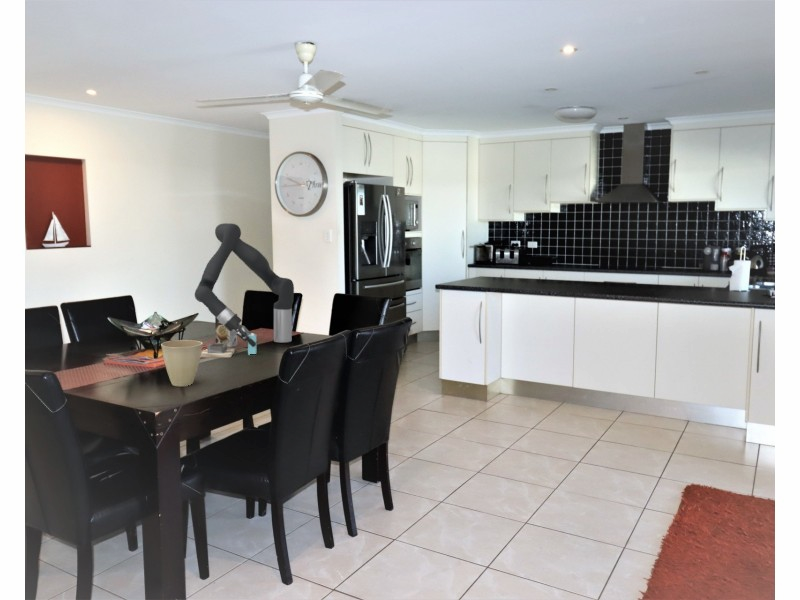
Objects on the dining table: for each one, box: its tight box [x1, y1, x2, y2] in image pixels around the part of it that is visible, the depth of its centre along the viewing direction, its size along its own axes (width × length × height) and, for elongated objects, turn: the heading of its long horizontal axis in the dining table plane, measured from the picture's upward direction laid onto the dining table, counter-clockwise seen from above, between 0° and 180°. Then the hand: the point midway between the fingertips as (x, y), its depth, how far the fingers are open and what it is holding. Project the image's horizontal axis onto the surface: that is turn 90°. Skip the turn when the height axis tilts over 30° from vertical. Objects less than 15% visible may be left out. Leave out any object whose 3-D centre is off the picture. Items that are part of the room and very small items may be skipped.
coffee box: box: [214, 313, 238, 348], centre depth 310 cm, size 9×6×16 cm
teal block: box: [247, 332, 258, 356], centre depth 292 cm, size 4×4×10 cm
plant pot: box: [160, 339, 203, 387], centre depth 237 cm, size 15×15×16 cm
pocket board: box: [200, 343, 236, 358], centre depth 291 cm, size 14×14×4 cm
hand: (255, 344), depth 292 cm, fingers closed on teal block, 4 cm apart
